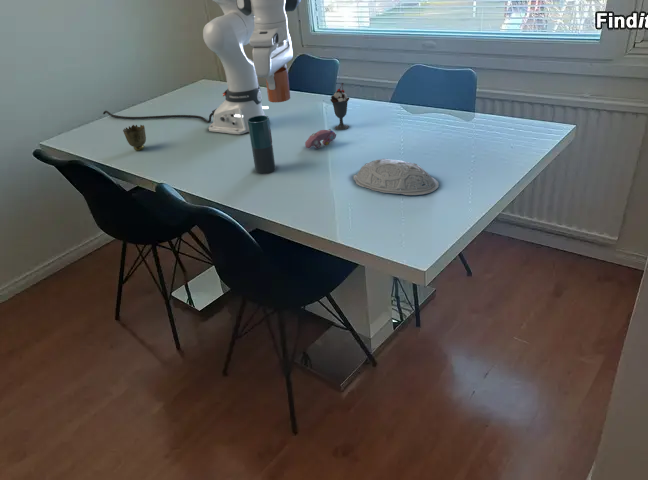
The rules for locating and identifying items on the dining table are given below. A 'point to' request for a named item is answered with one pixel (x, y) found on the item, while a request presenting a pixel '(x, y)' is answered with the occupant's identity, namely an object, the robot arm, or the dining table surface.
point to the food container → (395, 177)
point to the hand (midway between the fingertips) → (277, 84)
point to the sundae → (340, 107)
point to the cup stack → (261, 144)
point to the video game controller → (320, 138)
